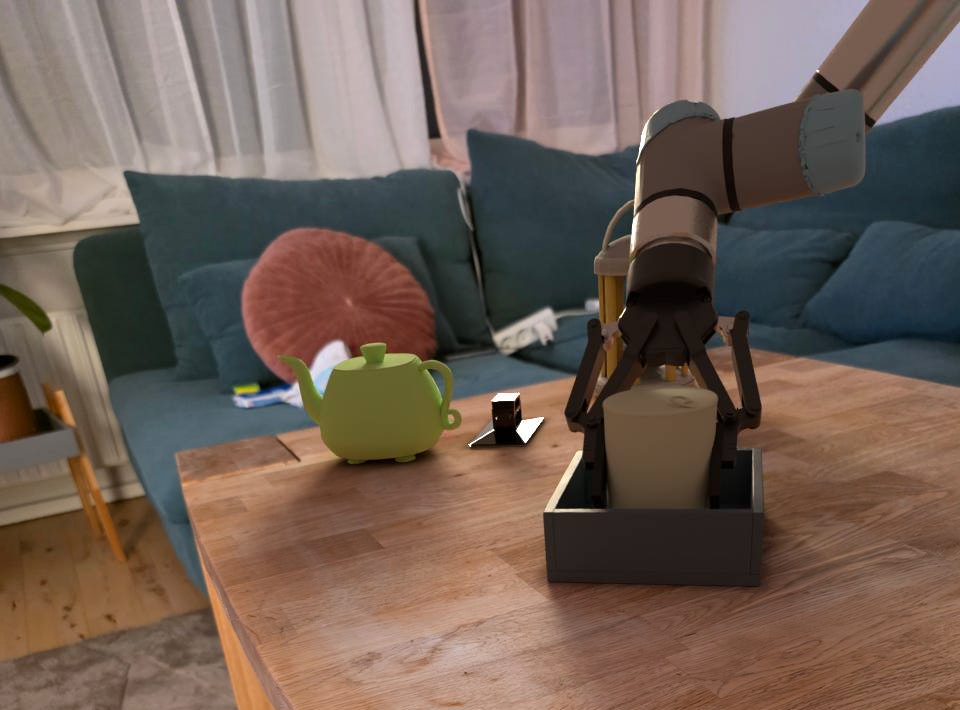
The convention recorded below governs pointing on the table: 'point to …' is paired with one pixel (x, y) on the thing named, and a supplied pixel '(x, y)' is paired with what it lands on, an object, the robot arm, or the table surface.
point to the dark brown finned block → (507, 424)
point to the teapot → (379, 405)
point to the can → (659, 447)
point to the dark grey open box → (658, 534)
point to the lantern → (610, 279)
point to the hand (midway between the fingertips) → (655, 502)
